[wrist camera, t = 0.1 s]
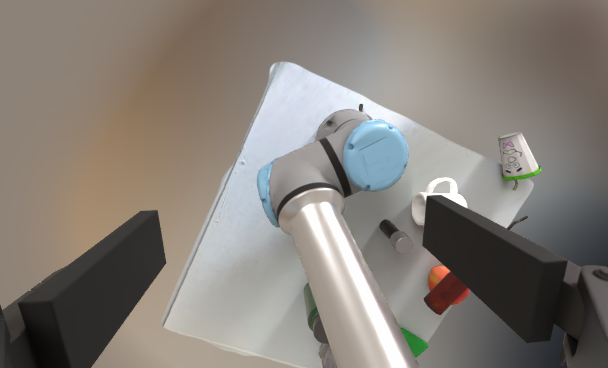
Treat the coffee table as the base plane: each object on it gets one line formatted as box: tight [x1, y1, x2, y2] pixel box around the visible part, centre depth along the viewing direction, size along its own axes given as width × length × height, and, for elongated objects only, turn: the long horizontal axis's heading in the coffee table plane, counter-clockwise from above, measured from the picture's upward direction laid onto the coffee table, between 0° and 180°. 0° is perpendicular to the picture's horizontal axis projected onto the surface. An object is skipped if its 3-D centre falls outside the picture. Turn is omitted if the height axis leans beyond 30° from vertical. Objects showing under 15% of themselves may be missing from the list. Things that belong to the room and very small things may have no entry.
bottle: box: [304, 282, 329, 344], centre depth 72 cm, size 9×9×14 cm
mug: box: [411, 178, 467, 225], centre depth 71 cm, size 12×10×8 cm
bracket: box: [400, 328, 428, 358], centre depth 81 cm, size 12×8×7 cm, turn 55°
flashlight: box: [380, 220, 413, 254], centre depth 70 cm, size 4×4×12 cm
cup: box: [498, 131, 541, 190], centre depth 71 cm, size 8×8×15 cm
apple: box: [428, 265, 469, 305], centre depth 75 cm, size 10×10×10 cm
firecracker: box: [424, 216, 528, 315], centre depth 67 cm, size 5×5×30 cm
